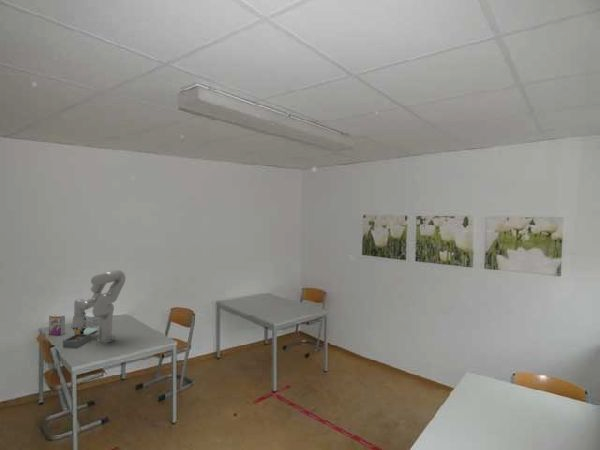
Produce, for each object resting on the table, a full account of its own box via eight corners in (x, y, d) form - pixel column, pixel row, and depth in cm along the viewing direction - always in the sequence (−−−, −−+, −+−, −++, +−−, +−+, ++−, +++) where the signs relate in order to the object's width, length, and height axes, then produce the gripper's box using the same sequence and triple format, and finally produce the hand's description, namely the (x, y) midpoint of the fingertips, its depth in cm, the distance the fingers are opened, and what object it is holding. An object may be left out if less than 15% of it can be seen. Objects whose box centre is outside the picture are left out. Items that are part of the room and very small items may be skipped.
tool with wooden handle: (87, 329, 317) (87, 322, 316) (98, 330, 316) (98, 322, 316) (71, 337, 296) (71, 329, 296) (83, 338, 295) (83, 330, 295)
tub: (76, 341, 291) (76, 333, 291) (89, 341, 291) (89, 334, 290) (62, 348, 275) (63, 340, 275) (76, 349, 275) (76, 341, 274)
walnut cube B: (78, 344, 282) (78, 339, 282) (76, 346, 278) (76, 341, 278) (72, 344, 281) (72, 339, 281) (70, 346, 277) (70, 341, 277)
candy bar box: (48, 334, 303) (48, 315, 302) (53, 332, 308) (53, 314, 307) (60, 335, 302) (60, 316, 301) (65, 333, 307) (65, 315, 306)
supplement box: (104, 322, 340) (104, 313, 340) (92, 326, 327) (92, 316, 327) (90, 320, 345) (90, 311, 345) (78, 324, 332) (78, 314, 332)
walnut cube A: (83, 341, 288) (83, 337, 288) (80, 343, 284) (80, 338, 284) (78, 341, 288) (78, 336, 288) (75, 343, 284) (75, 338, 284)
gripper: (92, 313, 300) (91, 334, 301) (72, 312, 301) (72, 333, 302) (86, 315, 293) (85, 337, 294) (66, 314, 294) (66, 336, 294)
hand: (79, 335), depth 298 cm, fingers closed on tool with wooden handle, 4 cm apart
